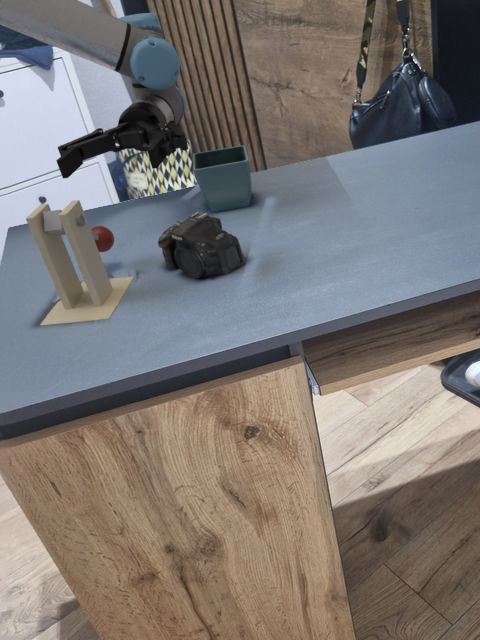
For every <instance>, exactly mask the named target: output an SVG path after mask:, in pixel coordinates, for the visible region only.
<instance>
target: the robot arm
mask: <svg viewBox="0 0 480 640" xmlns="http://www.w3.org/2000/svg"><path fill="white" fill-rule="evenodd" d="M0 25H1V26H3V27H5V28H7V29H10V30H13V31H14V32H17V33H20V34H23V35H25V36H28V37H29V38H32V39H35V40H37V41H40V42H42V43H45V44H48V45H50V46H52V47H53V48H57V49H59V50H61V51H64V52H67V53H69V54H72V55H75V56H77V57H80V58H81V59H84V60H87V61H90V62H92V63H94V64H97V65H99V66H101V67H104V68H107V69H109V70H112V71H114V72H116V73H118V74H119V75H123V76H125V77H128V78H129V79H130V81H131V86H132V89H133V92H134V97H135V99H136V100H134V102H132V103H131V104H129V106H128V107H127V108H125V109H124V110H123V111H122V112H121V114H120V116H119V118H118V121H117V122H118V123H117V126H114V127H112V128H109V129H105V130H104V129H103V128H101V127H98V128H97V129H94V130H92V132H90V133H87V134H85V135H82V136H80V137H78V138H75V139H72V140H71V141H67V142H65V143H63V144H60V145H59V146H57V150H58V152H59V155H60V157H58V158H57V159H56V165H57V167H58V170H59V172H60V175H61V177H62V179H69V178H70V177H71V176H72V175H74V173H75V172H76V171H77V170H78V169H79V168H81V167H82V166H83V165H84V161H86V160H89V159H92V158H95V157H98V156H101V155H103V154H106V153H109V152H112V153H118V152H121V151H124V150H131V149H134V150H136V151H138V152H143V153H144V152H146V153H147V155H148V158H149V162H150V165H151V169H154V170H155V169H158V168H159V167H160V166H161V164H162V163H163V162H164V161H165V159H166V158H167V157H169V156H171V155H172V154H174V153H176V152H177V149H179V150H180V151H187V150H189V143H188V141H187V137H186V133H185V131H184V130H182V129H181V128H180V127H179V126H178V124H179V123H180V122H181V121H182V119H183V118H184V115H185V112H186V109H187V101H186V97H185V95H184V93H183V92H182V91H181V89H180V88H179V87H178V86H177V85H176V82H177V80H178V78H179V76H180V73H181V62H180V58H179V54H178V53H177V50H176V48H175V46H174V45H173V44H171V43H170V41H169V40H167V39H165V38H164V37H165V36H164V30H163V28H162V26H161V23H160V20H159V17H158V16H157V14H155V13H153V12H142V13H134V14H129V15H125V16H121V17H116V16H113V15H111V14H109V13H107V12H105V11H102V10H100V9H98V8H96V7H94V6H92V5H89V4H87V3H84V2H83V1H80V0H0Z"/></svg>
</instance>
